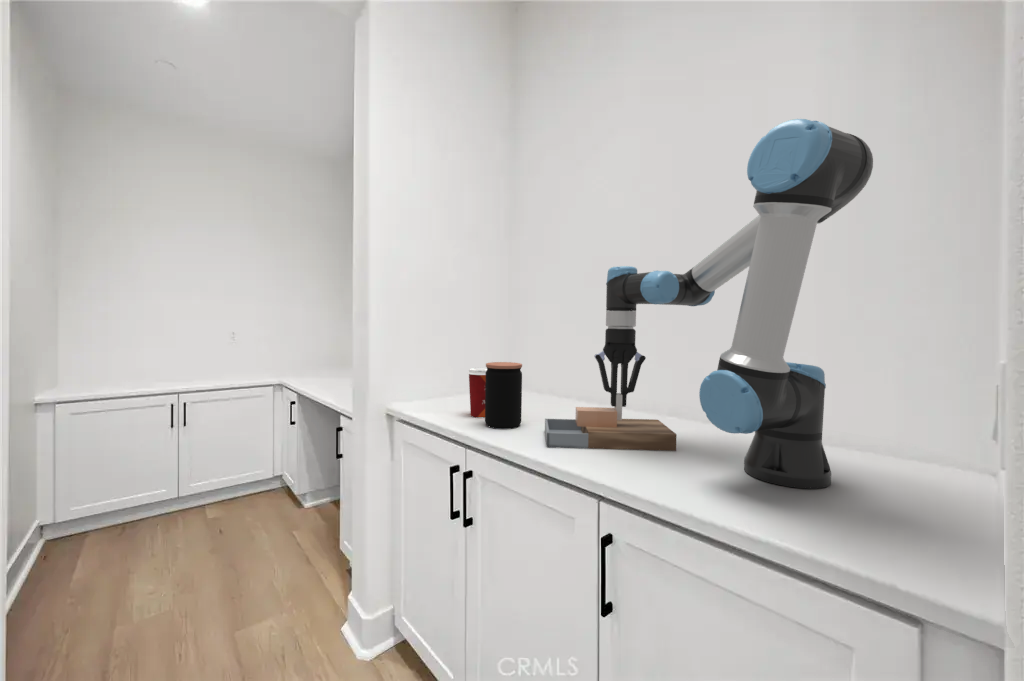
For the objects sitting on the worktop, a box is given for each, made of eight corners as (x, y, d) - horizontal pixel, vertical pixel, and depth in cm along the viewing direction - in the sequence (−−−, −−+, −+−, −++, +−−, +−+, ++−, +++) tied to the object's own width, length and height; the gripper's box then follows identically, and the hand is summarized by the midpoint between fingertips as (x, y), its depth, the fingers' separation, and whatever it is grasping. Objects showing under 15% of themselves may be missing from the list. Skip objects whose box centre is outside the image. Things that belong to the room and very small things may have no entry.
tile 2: (616, 427, 115) (617, 411, 115) (596, 426, 115) (597, 411, 115) (613, 422, 120) (613, 407, 120) (594, 422, 120) (594, 407, 120)
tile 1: (596, 426, 115) (597, 411, 115) (577, 426, 116) (577, 410, 115) (594, 422, 120) (594, 407, 120) (575, 421, 121) (575, 407, 120)
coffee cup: (492, 418, 141) (493, 370, 140) (465, 418, 141) (466, 370, 140) (493, 413, 149) (494, 367, 149) (468, 412, 150) (469, 367, 149)
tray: (588, 448, 110) (588, 434, 110) (546, 447, 111) (547, 433, 110) (580, 432, 126) (581, 419, 126) (544, 431, 126) (544, 418, 126)
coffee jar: (522, 421, 138) (523, 362, 137) (519, 430, 127) (520, 366, 126) (487, 420, 139) (488, 361, 138) (481, 428, 128) (482, 365, 127)
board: (676, 450, 109) (676, 434, 109) (588, 448, 110) (588, 432, 110) (657, 433, 125) (657, 419, 125) (580, 432, 126) (581, 417, 126)
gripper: (642, 327, 120) (640, 416, 121) (593, 327, 121) (590, 415, 122) (649, 328, 112) (646, 423, 114) (596, 327, 113) (594, 421, 114)
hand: (617, 418), depth 118 cm, fingers closed
